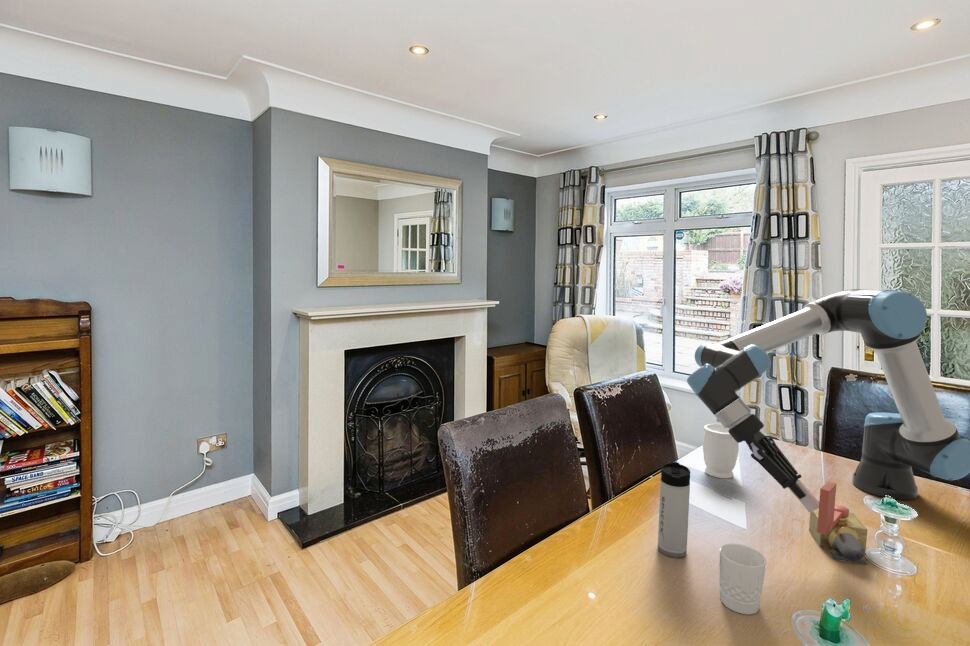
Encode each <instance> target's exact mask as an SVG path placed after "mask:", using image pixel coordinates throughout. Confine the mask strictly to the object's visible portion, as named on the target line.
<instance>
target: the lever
mask: <svg viewBox="0 0 970 646" xmlns="http://www.w3.org/2000/svg"><path fill="white" fill-rule="evenodd" d="M819 491H820V492H819V500H818V501H819V513H818V526H817V532H818V533H821V534H824V535H826V534H828V533H829V532H830V531H831V529H832V528H833V527H834V526H835V524H836V523H837V522H838V521H839V519H840V518H847V517H848V516H849V513H850V509H849V508H847V507H846V506H844V505H842V504H836V496H837V494H836V493H837V483H836V482H833V481H830V480H829V481H826V482H825V483H824V485H822V486H821V488H820V490H819Z"/></svg>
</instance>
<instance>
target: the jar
mask: <svg viewBox="0 0 970 646" xmlns="http://www.w3.org/2000/svg"><path fill="white" fill-rule="evenodd" d="M703 430H704V431H705V432H704V434H703V438H702V439H703V440H702V451H703V460H704V464H705V468H704V471H705V473H706V474H707V475H709V476H711V477H713V478H717V479H731V478H733V477H734V472H733V470H734V469H735V467H736V464H737V460H738V456H739V449H740V447H739V445H740V444H739V443H738V442H736V441H735V439H734V438H733V437H732V436H731V435H730V434H729V431H728V430H729V428H725V427H724V426H723V425H722V424H721V423H709V424H705V425H704V426H703Z"/></svg>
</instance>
